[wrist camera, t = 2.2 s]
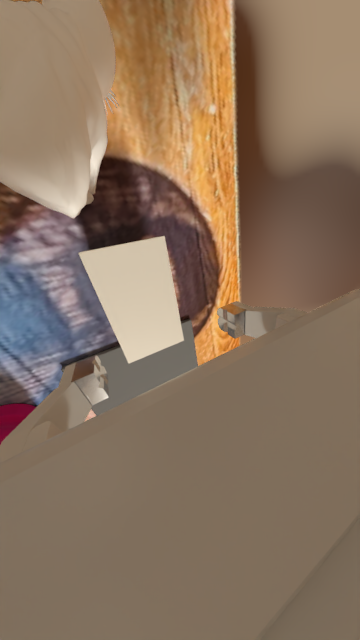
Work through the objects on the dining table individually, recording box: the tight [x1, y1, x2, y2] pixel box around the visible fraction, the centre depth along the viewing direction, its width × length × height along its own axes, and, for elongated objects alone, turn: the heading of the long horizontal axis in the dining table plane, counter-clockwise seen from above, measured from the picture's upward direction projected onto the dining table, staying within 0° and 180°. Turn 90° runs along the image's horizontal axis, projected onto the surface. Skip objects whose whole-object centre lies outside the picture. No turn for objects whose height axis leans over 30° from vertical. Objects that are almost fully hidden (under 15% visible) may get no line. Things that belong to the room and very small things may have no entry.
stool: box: [78, 236, 184, 363], centre depth 16 cm, size 10×6×7 cm, turn 10°
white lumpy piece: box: [0, 0, 119, 218], centre depth 9 cm, size 6×8×12 cm
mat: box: [61, 319, 198, 416], centre depth 26 cm, size 18×18×1 cm
